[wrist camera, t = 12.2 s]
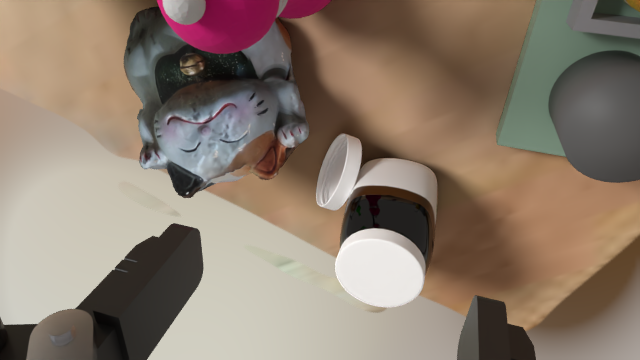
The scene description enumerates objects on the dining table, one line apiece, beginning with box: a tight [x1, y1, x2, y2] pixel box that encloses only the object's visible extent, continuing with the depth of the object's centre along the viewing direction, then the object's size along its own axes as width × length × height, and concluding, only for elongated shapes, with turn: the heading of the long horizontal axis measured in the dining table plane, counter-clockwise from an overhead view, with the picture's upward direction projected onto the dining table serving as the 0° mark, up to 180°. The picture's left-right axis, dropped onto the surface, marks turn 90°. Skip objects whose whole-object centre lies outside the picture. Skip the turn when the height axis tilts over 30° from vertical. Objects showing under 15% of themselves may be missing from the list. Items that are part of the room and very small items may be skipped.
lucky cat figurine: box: [124, 7, 309, 198], centre depth 37 cm, size 15×12×14 cm
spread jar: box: [316, 133, 438, 307], centre depth 39 cm, size 12×11×12 cm
